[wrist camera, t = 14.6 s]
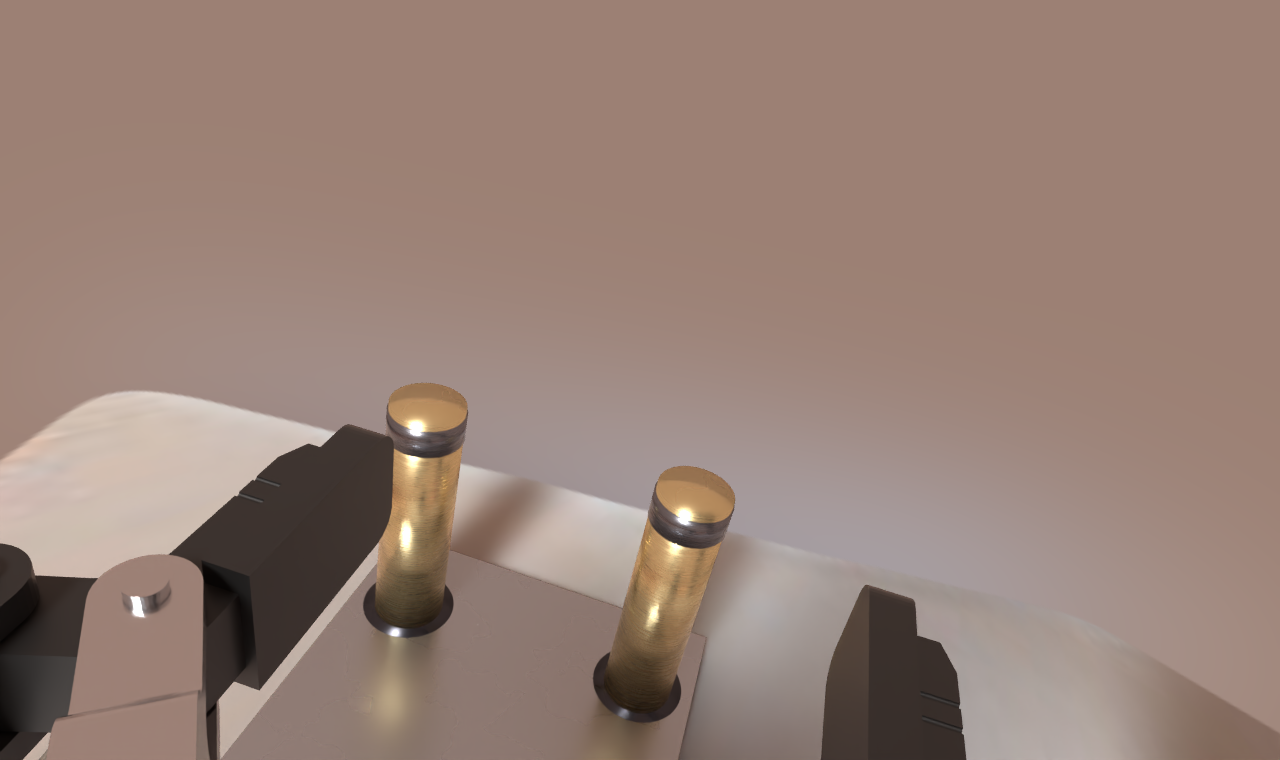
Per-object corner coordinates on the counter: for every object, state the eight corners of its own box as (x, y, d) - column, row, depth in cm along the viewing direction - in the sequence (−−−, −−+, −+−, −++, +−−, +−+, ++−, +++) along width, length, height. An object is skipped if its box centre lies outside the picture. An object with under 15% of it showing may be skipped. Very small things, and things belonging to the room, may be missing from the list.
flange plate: (700, 654, 41) (706, 637, 40) (622, 984, 28) (630, 965, 27) (399, 550, 42) (401, 532, 42) (193, 815, 29) (192, 795, 29)
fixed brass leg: (454, 591, 39) (480, 396, 34) (424, 638, 37) (448, 435, 31) (394, 570, 40) (410, 374, 34) (360, 615, 37) (371, 410, 31)
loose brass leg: (677, 669, 38) (741, 480, 33) (662, 724, 35) (730, 528, 30) (613, 647, 38) (666, 456, 33) (594, 699, 36) (648, 501, 30)
